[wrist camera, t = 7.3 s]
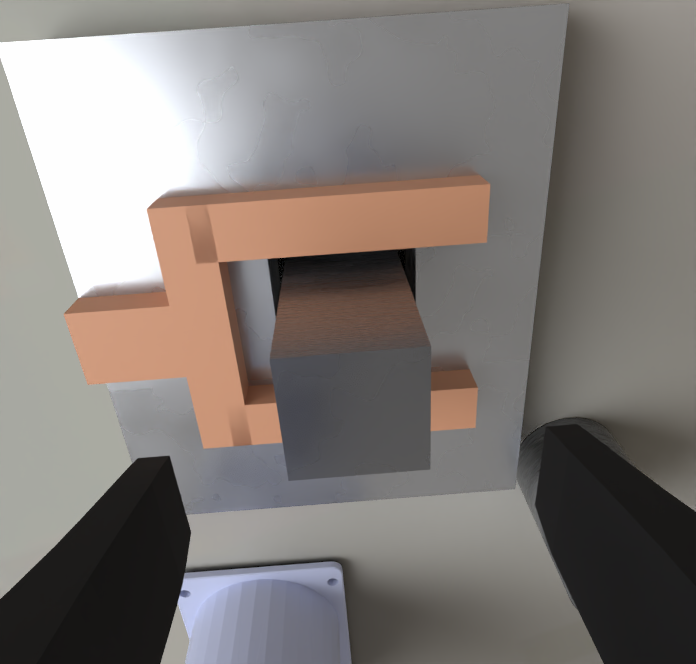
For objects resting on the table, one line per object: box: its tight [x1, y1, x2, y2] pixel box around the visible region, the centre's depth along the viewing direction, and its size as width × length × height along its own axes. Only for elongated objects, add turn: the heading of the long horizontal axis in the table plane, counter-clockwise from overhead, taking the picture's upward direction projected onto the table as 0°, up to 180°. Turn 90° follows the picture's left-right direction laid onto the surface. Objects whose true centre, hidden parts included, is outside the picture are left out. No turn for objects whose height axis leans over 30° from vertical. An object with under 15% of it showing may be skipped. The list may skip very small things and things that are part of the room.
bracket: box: [64, 175, 490, 449], centre depth 17 cm, size 8×12×1 cm, turn 94°
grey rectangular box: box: [270, 249, 431, 481], centre depth 16 cm, size 3×3×8 cm
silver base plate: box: [0, 3, 569, 515], centre depth 18 cm, size 16×14×2 cm
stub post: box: [516, 418, 636, 609], centre depth 21 cm, size 4×4×6 cm
